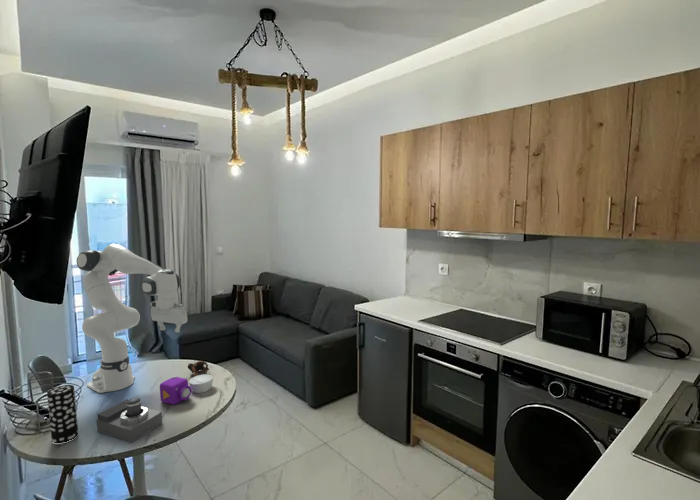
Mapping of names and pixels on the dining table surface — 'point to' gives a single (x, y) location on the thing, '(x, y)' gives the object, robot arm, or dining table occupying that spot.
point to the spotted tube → (62, 413)
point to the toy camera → (174, 390)
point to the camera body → (127, 422)
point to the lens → (133, 407)
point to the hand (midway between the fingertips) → (170, 331)
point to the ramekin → (201, 383)
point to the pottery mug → (198, 368)
